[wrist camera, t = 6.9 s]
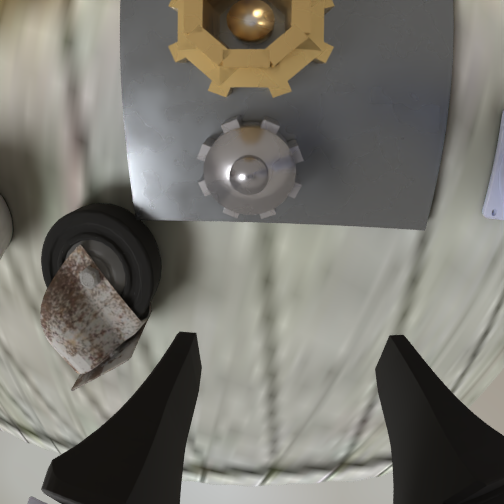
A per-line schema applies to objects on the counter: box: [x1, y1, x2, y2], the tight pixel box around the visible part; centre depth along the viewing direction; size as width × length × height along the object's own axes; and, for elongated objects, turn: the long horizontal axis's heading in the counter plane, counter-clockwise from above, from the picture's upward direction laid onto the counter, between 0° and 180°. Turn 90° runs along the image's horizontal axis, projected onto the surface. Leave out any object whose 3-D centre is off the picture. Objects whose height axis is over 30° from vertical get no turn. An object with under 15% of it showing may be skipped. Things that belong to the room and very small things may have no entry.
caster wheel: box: [40, 203, 161, 391], centre depth 20 cm, size 7×11×10 cm
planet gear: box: [168, 0, 334, 98], centre depth 11 cm, size 7×7×4 cm
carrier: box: [120, 0, 454, 230], centre depth 13 cm, size 18×17×4 cm
